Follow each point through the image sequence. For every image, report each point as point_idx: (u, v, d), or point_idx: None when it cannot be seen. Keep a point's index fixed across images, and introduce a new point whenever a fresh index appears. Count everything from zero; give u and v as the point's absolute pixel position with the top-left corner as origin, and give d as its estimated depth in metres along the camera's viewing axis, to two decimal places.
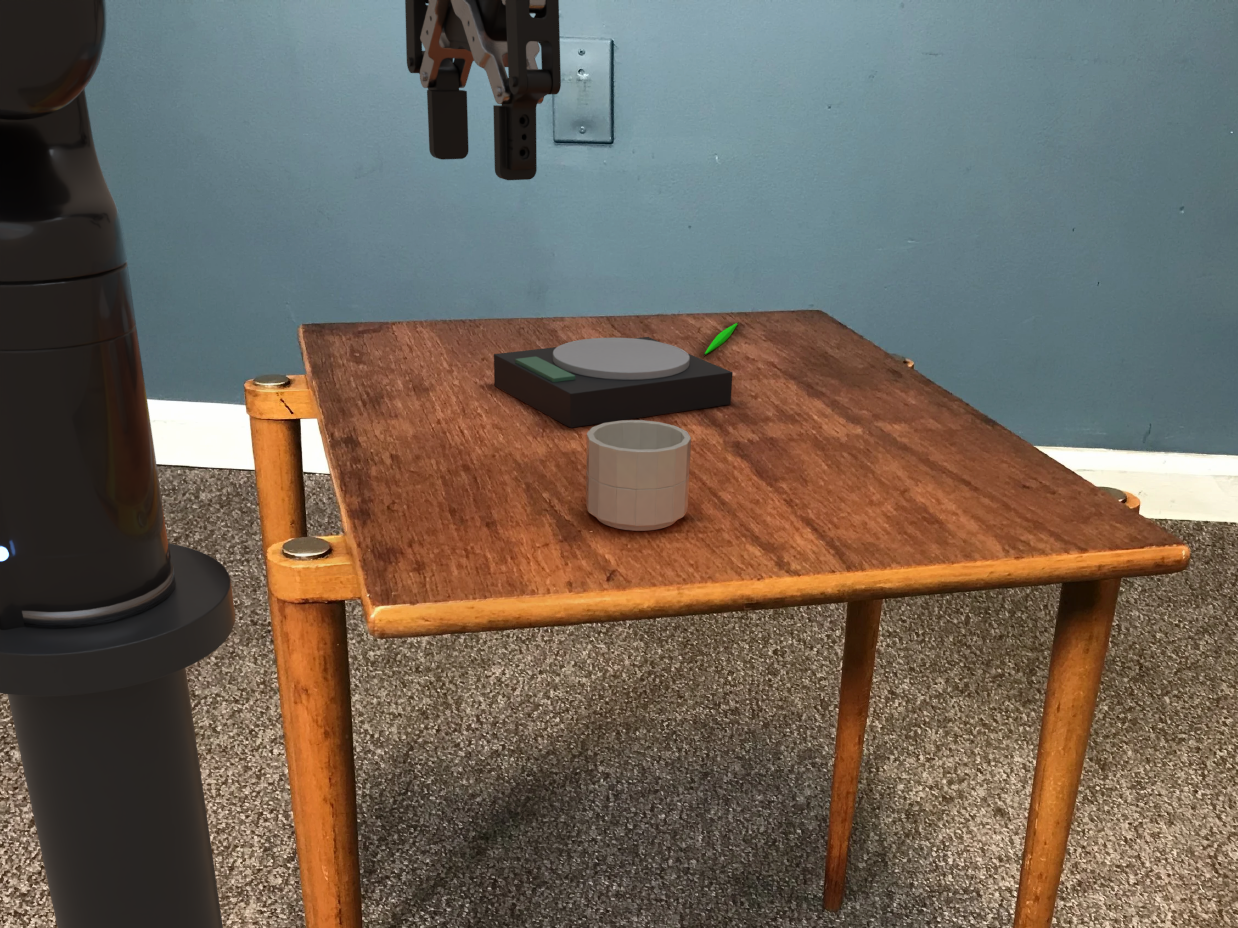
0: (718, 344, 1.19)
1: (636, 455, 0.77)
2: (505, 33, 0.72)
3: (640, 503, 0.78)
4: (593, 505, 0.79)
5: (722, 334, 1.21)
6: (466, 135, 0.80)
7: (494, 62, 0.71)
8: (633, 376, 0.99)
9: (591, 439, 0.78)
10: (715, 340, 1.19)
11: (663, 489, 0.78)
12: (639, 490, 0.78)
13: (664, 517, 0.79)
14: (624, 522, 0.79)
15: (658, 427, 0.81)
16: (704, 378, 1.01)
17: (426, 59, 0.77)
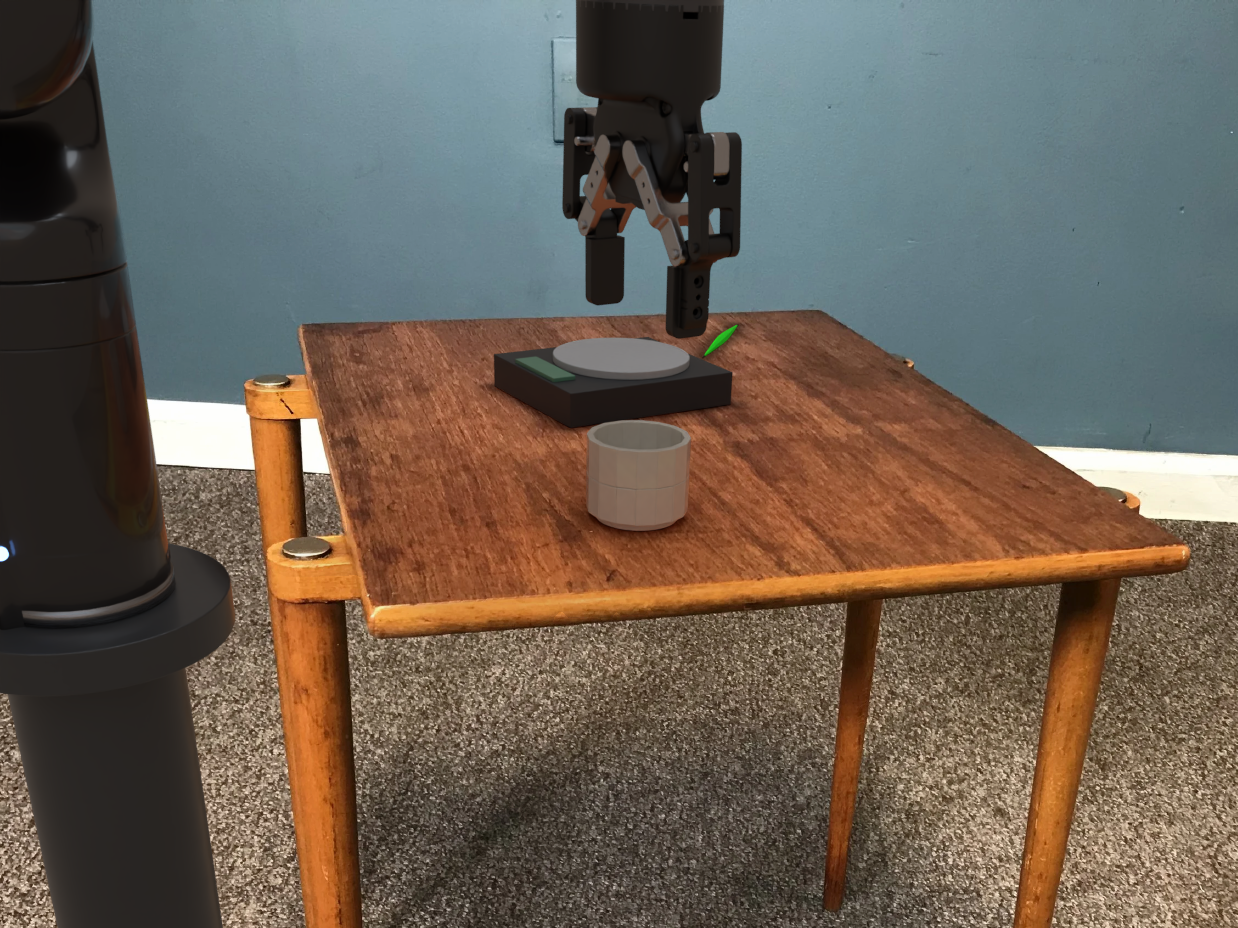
0: (718, 346, 1.19)
1: (636, 455, 0.77)
2: (678, 192, 0.71)
3: (640, 503, 0.78)
4: (593, 505, 0.79)
5: (722, 336, 1.21)
6: (622, 280, 0.79)
7: (671, 225, 0.70)
8: (633, 376, 0.99)
9: (591, 439, 0.78)
10: (715, 342, 1.19)
11: (663, 489, 0.78)
12: (639, 490, 0.78)
13: (664, 517, 0.79)
14: (624, 522, 0.79)
15: (658, 427, 0.81)
16: (704, 378, 1.01)
17: (587, 209, 0.76)
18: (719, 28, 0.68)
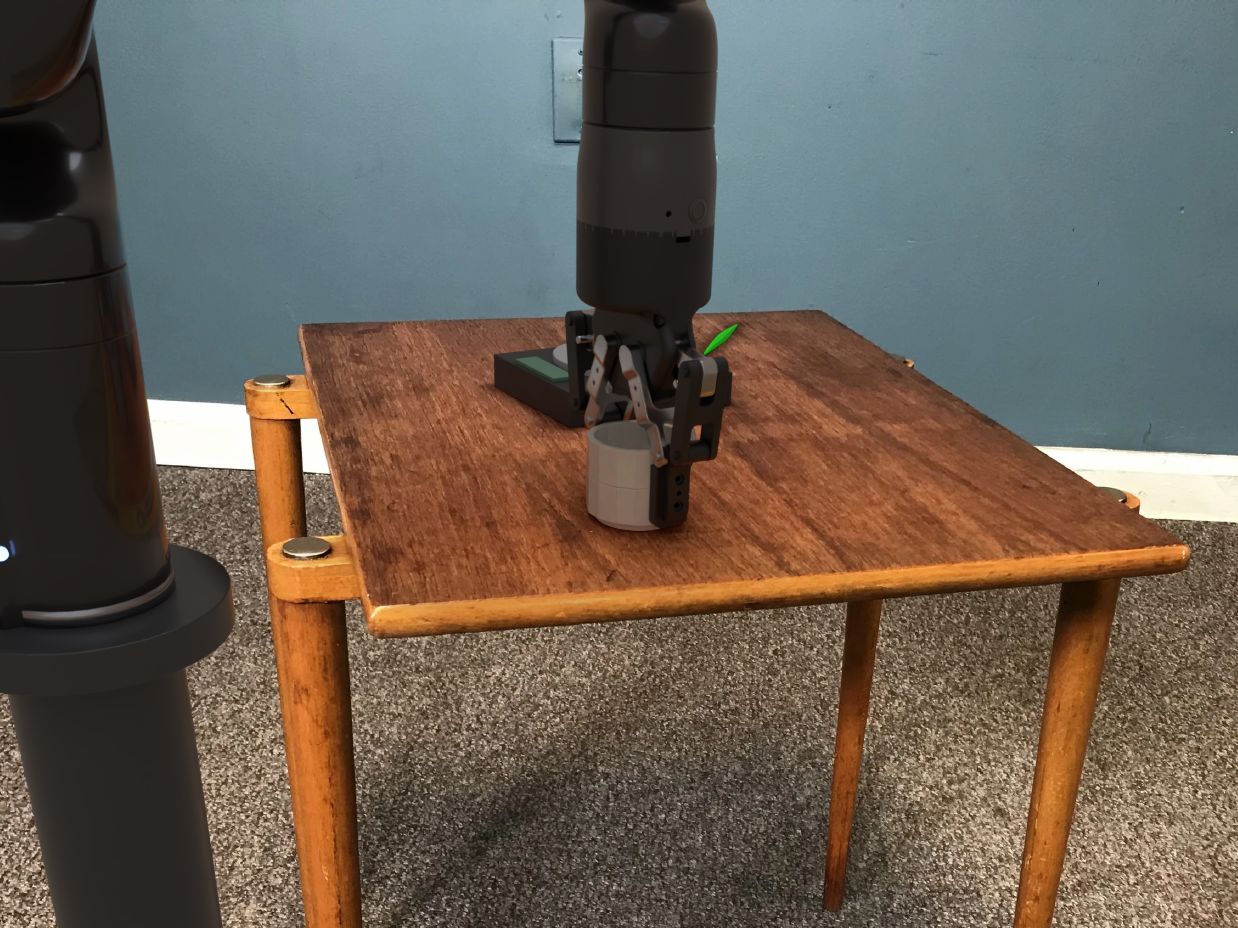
0: (717, 345, 1.19)
1: (636, 455, 0.77)
2: (671, 391, 0.76)
3: (640, 503, 0.78)
4: (593, 505, 0.79)
5: (721, 335, 1.21)
6: None
7: (657, 431, 0.75)
8: None
9: (591, 439, 0.78)
10: (714, 341, 1.19)
11: None
12: (639, 490, 0.78)
13: None
14: (624, 522, 0.79)
15: None
16: None
17: (592, 405, 0.81)
18: (710, 245, 0.73)
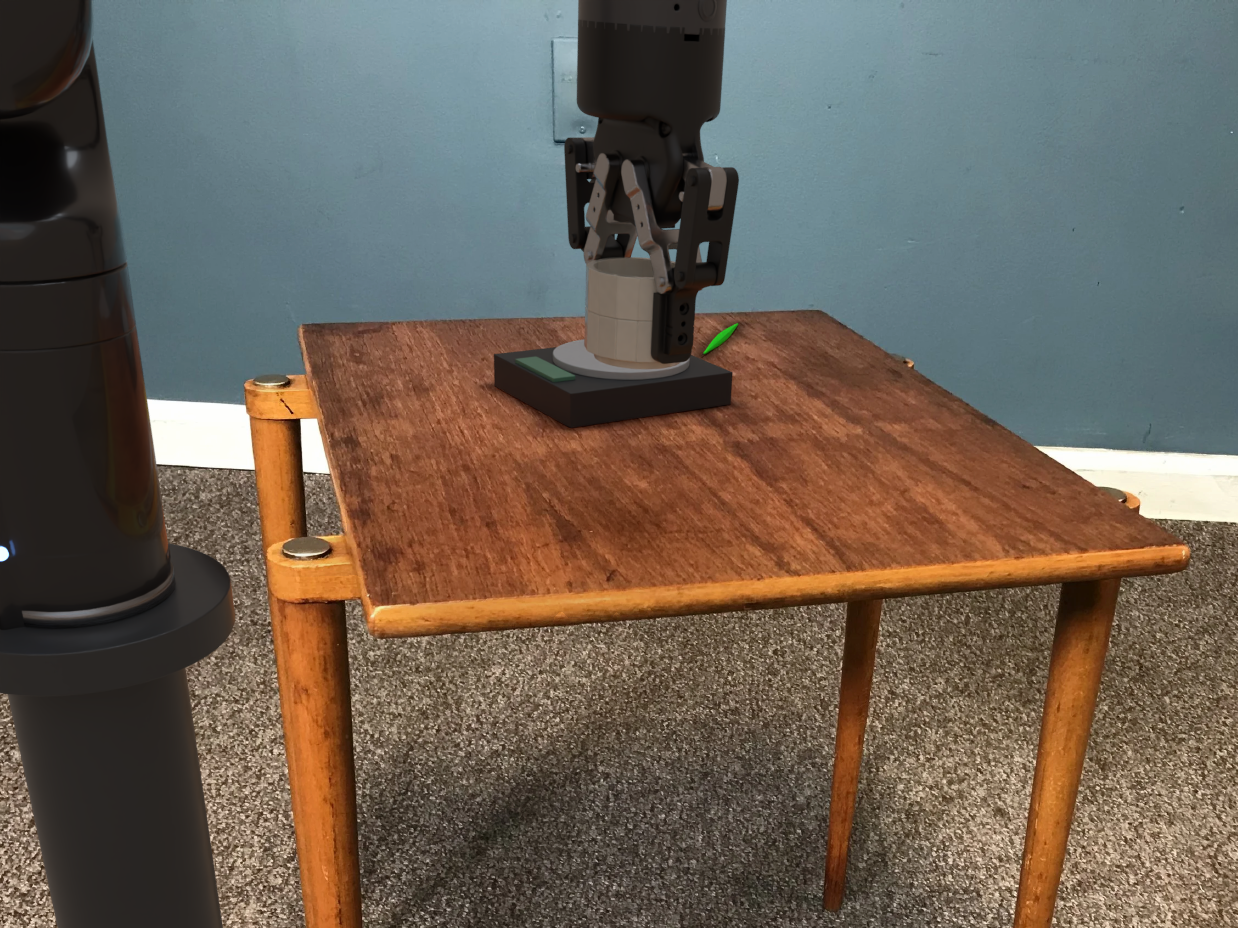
0: (717, 344, 1.19)
1: (639, 282, 0.72)
2: (676, 212, 0.71)
3: (642, 337, 0.73)
4: (592, 341, 0.75)
5: (722, 334, 1.21)
6: None
7: (661, 253, 0.71)
8: (633, 376, 0.99)
9: (591, 268, 0.73)
10: (714, 340, 1.19)
11: None
12: (641, 322, 0.73)
13: None
14: (625, 358, 0.74)
15: None
16: (704, 378, 1.01)
17: (592, 238, 0.76)
18: (720, 51, 0.69)
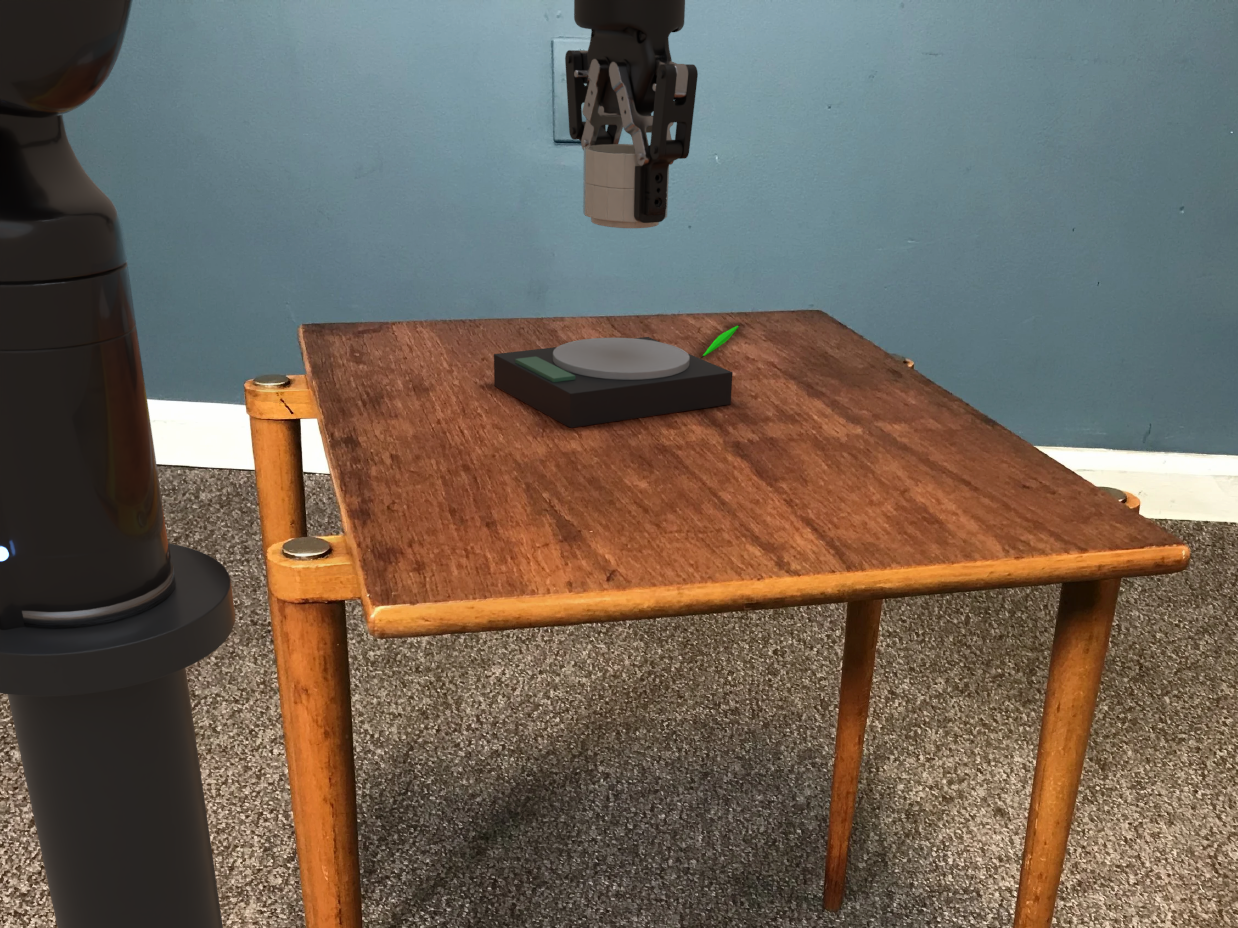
0: (717, 346, 1.19)
1: (624, 157, 0.94)
2: (651, 103, 0.93)
3: (627, 201, 0.95)
4: (589, 207, 0.97)
5: (722, 336, 1.21)
6: None
7: (640, 133, 0.92)
8: (633, 376, 0.99)
9: (587, 149, 0.95)
10: (714, 342, 1.19)
11: None
12: (626, 189, 0.95)
13: None
14: (614, 218, 0.96)
15: None
16: (704, 378, 1.01)
17: (587, 128, 0.98)
18: None
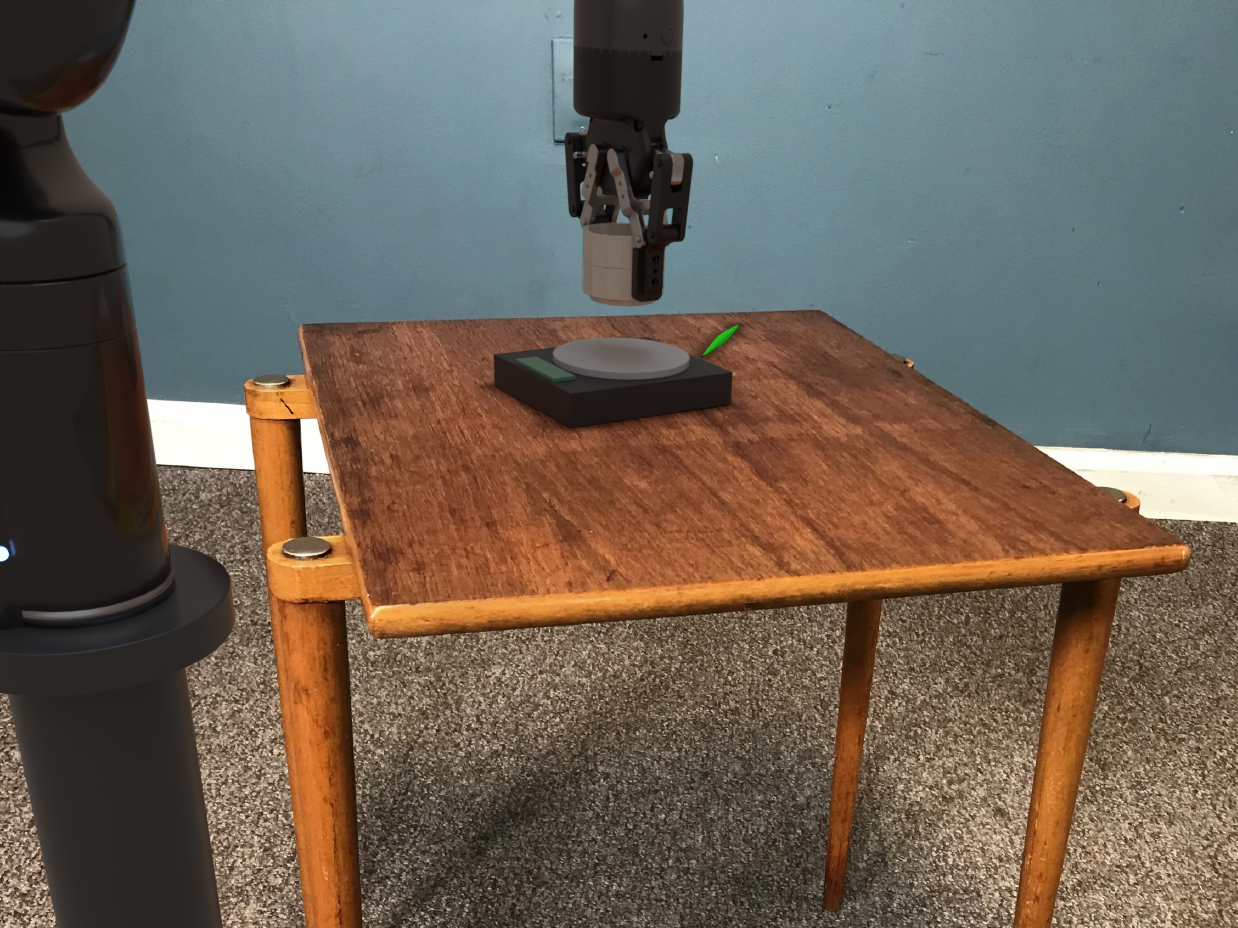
0: (717, 346, 1.19)
1: (622, 239, 0.96)
2: (648, 187, 0.96)
3: (625, 281, 0.98)
4: (588, 286, 0.99)
5: (722, 336, 1.21)
6: None
7: (637, 218, 0.95)
8: (633, 376, 0.99)
9: (586, 230, 0.98)
10: (714, 342, 1.19)
11: None
12: (624, 270, 0.97)
13: None
14: (612, 297, 0.98)
15: None
16: (704, 378, 1.01)
17: (586, 208, 1.00)
18: (678, 67, 0.93)
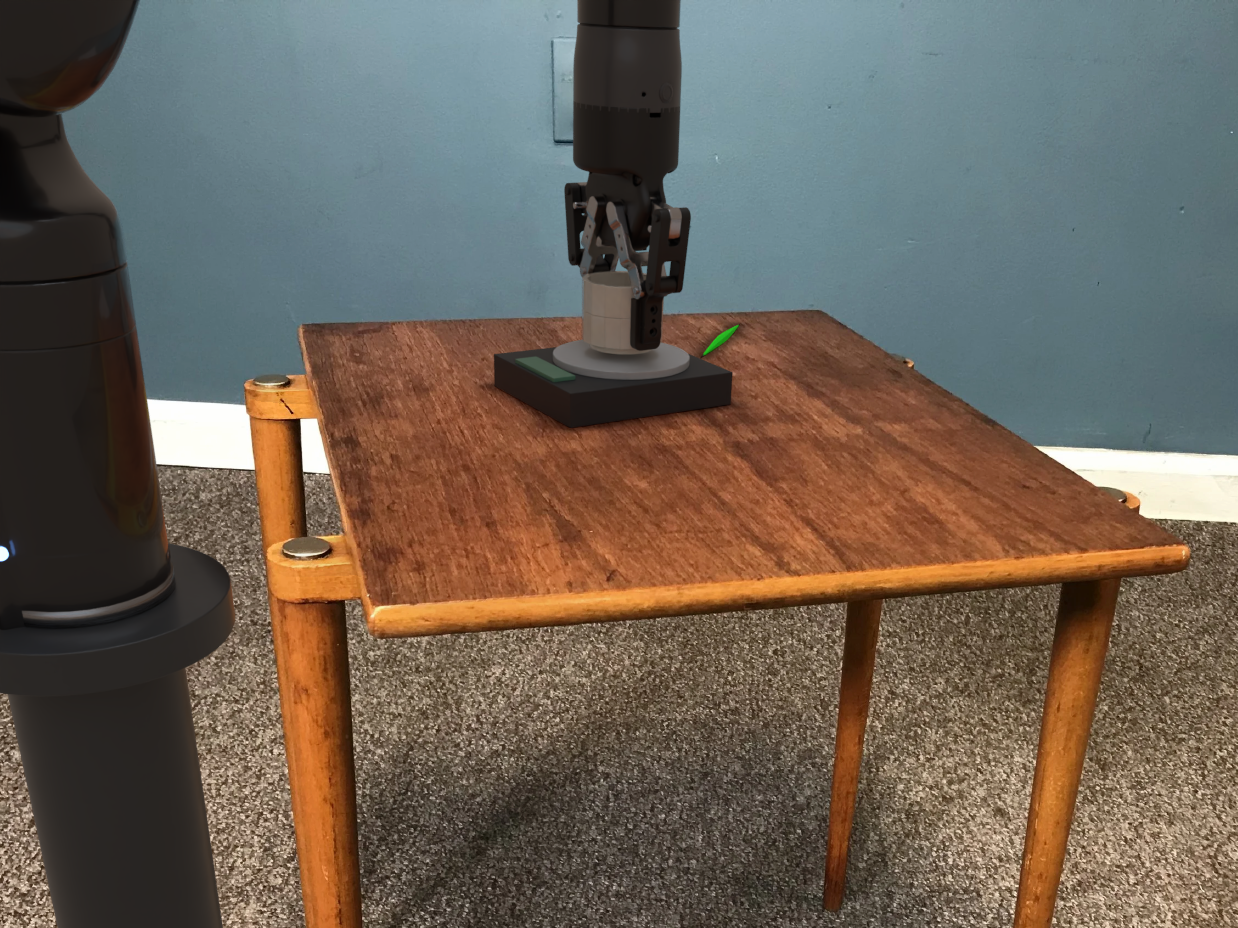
0: (717, 345, 1.19)
1: (621, 290, 0.98)
2: (647, 239, 0.97)
3: (624, 330, 0.99)
4: (587, 334, 1.01)
5: (721, 336, 1.21)
6: None
7: (636, 269, 0.97)
8: (633, 376, 0.99)
9: (585, 280, 0.99)
10: (714, 341, 1.19)
11: None
12: (623, 319, 0.99)
13: None
14: (611, 346, 1.00)
15: None
16: (704, 378, 1.01)
17: (585, 257, 1.02)
18: (676, 122, 0.94)
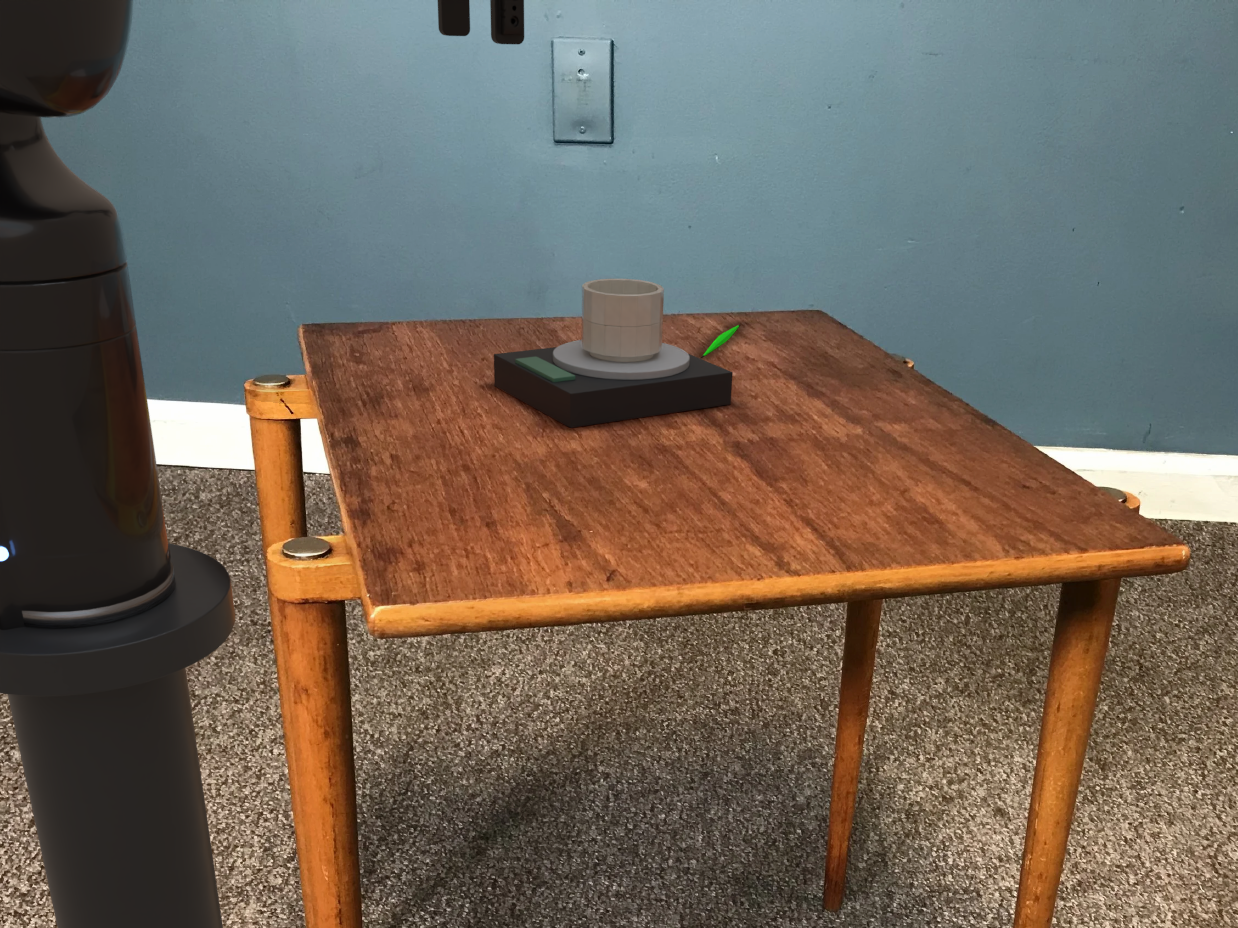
0: (717, 346, 1.19)
1: (620, 298, 0.98)
2: None
3: (624, 338, 1.00)
4: (587, 342, 1.01)
5: (722, 336, 1.21)
6: (468, 16, 0.99)
7: None
8: (633, 376, 0.99)
9: (585, 288, 1.00)
10: (714, 342, 1.19)
11: (642, 327, 1.00)
12: (623, 327, 0.99)
13: (643, 350, 1.01)
14: (611, 354, 1.00)
15: (638, 283, 1.03)
16: (704, 378, 1.01)
17: None
18: None
